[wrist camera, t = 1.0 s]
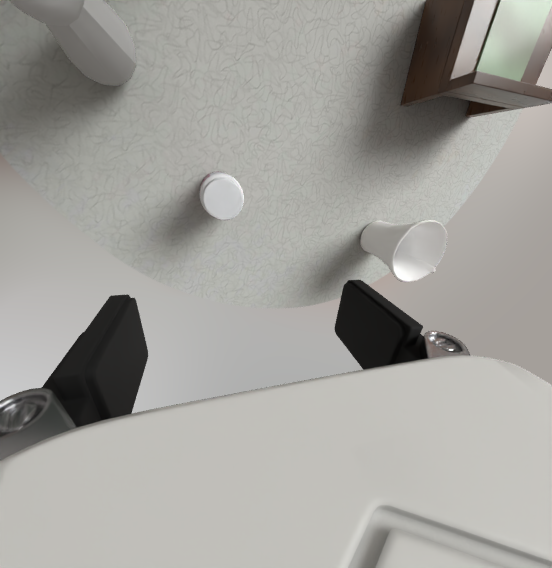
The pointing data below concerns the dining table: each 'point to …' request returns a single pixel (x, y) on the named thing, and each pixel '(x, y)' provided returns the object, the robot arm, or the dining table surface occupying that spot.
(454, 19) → the shelf
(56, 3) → the salt shaker
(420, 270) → the cup
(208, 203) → the pill bottle
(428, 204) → the dining table surface
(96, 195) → the dining table surface
